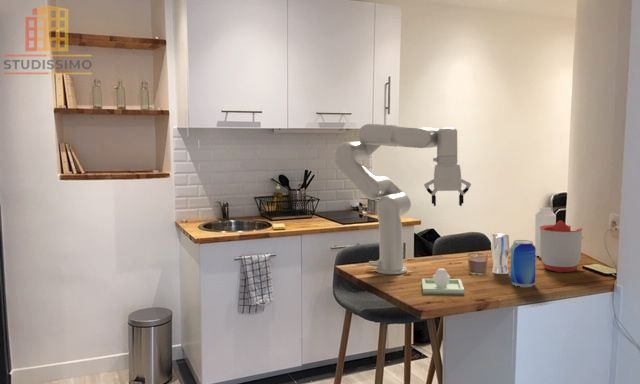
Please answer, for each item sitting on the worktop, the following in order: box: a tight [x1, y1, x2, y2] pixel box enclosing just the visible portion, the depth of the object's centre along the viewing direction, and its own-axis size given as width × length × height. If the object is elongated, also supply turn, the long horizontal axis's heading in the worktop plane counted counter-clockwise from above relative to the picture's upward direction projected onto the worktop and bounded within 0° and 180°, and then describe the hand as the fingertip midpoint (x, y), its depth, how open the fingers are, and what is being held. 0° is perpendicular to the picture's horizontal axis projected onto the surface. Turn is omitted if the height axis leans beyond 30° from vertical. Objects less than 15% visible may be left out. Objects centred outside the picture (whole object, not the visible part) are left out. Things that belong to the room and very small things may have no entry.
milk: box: [534, 206, 557, 258], centre depth 238 cm, size 6×6×22 cm
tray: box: [421, 278, 465, 296], centre depth 193 cm, size 14×14×2 cm
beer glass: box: [490, 233, 511, 275], centre depth 213 cm, size 7×7×15 cm
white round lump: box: [432, 267, 451, 288], centre depth 193 cm, size 6×6×7 cm
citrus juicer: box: [540, 219, 584, 273], centre depth 215 cm, size 16×17×20 cm
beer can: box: [510, 239, 536, 288], centre depth 194 cm, size 8×8×16 cm
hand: (447, 205), depth 204 cm, fingers open, 9 cm apart
